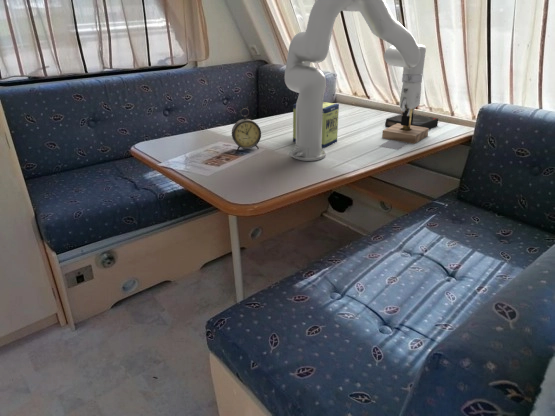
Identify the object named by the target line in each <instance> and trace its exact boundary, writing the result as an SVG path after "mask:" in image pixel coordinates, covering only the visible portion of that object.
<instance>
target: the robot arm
mask: <svg viewBox="0 0 555 416" xmlns="http://www.w3.org/2000/svg"><path fill="white" fill-rule="evenodd" d="M386 2H387V1H386V0H315V1H314V3H313V5H312V7H311V10H310V12H309V16H308V20H307V25H306V30H305V31H301V32H298V33H297V34H295V35H294V36H293V38H292V39H291V41H290V43H289V46H288V51H287V58H286V63H285V69H284V83H285V85H286V87H287V89H289V90H290V91H292V92H295V93H298V97H297V100H296V103H295V104H296V142H295V145H294V149H293V150H291V151H289V152H288V156H289V157H292V158H294V159H295V160H298V161H303V162H314V161H320V160H322V159H324V158H326V151H325V150H323V149H322V148H321V146H322V111H323V102H324V96H325V92H326V87H327V86H326V85H327V79H326V76H325V74H324V72H323V71H322V70H320V69H319V68H317V67H316V66H315V67H314V66H311V64H312V63H313V64H314V63H315V64H320V63H323V62H324V61H325V60H326V58H327V57H328V54H329V49H330V44H331V39H332V33H333V28H334V26H335V22H336V19H337V17H338V15H339V14H340V13H341V12H342V11H343V12H359V13H360V14H361V15H362V18H364V21H365V23H366V24H367V26H368V28H369V30H370V31H371V33H372V34H373V35H374V36H376V37H377V38H378V39H380V40H382V41H385V42H387V43H389V44H390V45H391V46H389V47H387V49H386V50H385V51H384V53H383V54H384V55H383V58H384V61H385V62H386V64H388V65H389V66H393V67H399V68H403V69H402V77H401V83H402V85H401V92H400V96H399V97H400V99H399V108H400V110H399V111H400V112H401V114H402V119H401V125H404V126H409V120H410V116H409V113H410V109H412V117H411V124H412V123H413V116H414V114H415V109H416V108H417V107H418V106H420V104H421V97H422V82H423V74H424V68H425V67H424V66H425V60H426V59H425V58H426V50H427V47H426V46H425V45H424V44H418V42H417V40H416V39H415V37H414V36H413V34H412V33H411V32H410V31H409V30H408V29H407V28H406V27H404V26H403V25H402V24H401V22H399V21H398V20H397V19H395V17H394V16H393V14H392V12H391V9H390V8H389V6H388V4H387V3H386ZM405 107H407V108H405ZM407 110H408V111H407Z"/></svg>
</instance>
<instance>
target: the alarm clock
mask: <svg viewBox="0 0 555 416" xmlns="http://www.w3.org/2000/svg"><path fill="white" fill-rule="evenodd" d="M243 110H247V115H243V114H242V111H243ZM239 113H240V116H242V117H243V119H239V120H238V121H236V122H235V123H234V125H233V126H232V129H231V137H232V138H231V139H232V140H233V141H234V142H235V143H234V144H235V145H237V148H236V150H235V151H236V152H238V151H239V150H240V148H241V149H244V150H247V149H252V148H254V147H255V148H257V149H258V150H259V149H260V147H259V146H258V144H259V142H260V140H261V139H262V138H261V137H262V131H261V128H260V126H259V125H258V123H257V122H255V121H254V120H252V119H249V118H247V117H248V116H249V115H250V111H249V109H248V108H246V107H245V108H242V109H241V110H240V111H239Z"/></svg>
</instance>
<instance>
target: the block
mask: <svg viewBox="0 0 555 416" xmlns="http://www.w3.org/2000/svg"><path fill="white" fill-rule="evenodd" d="M402 129H403V125H401V124H399V123H397V124H395V125H393V126H391V127H386V128H384V129H383V130H382V135H381V138H382V139H385V140H392V141H398V142H403V143H409V144H414V145H415V144H416V143H418V142H420V141H421V140H423V139H425V138H426V137H428V136H429V131H430V129H429V128H425V127H418V126H412V125H410V131H405V130H402Z"/></svg>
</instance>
